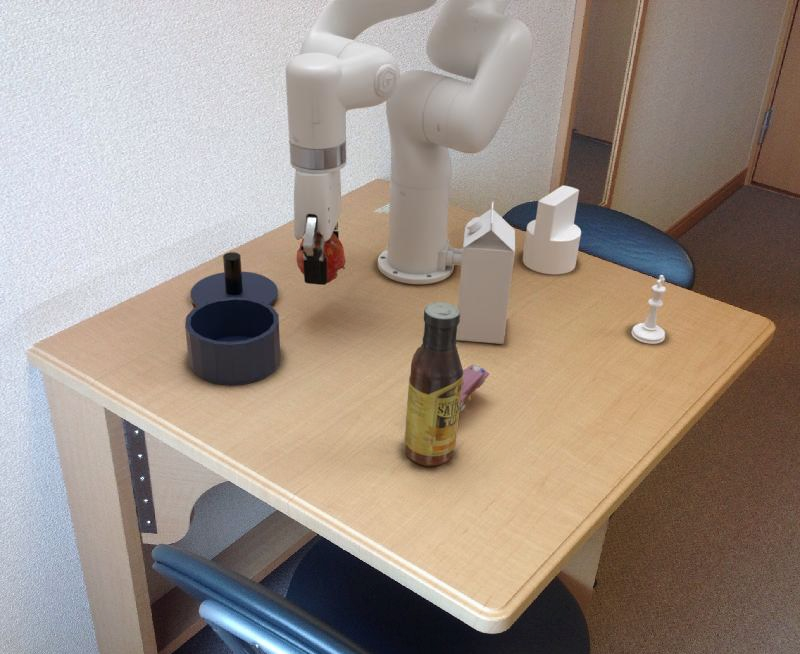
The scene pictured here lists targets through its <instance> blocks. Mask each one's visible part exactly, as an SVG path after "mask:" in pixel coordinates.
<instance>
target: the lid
mask: <svg viewBox="0 0 800 654" xmlns="http://www.w3.org/2000/svg"><path fill="white" fill-rule="evenodd" d="M222 262H223V272H218V273H214V274H211V275H208V276H206V277H204V278H201V279H200V280H198V281H197V282H196V283H195V284H194V285H193V286H192V288H191V290H190V300H191V302H192V303H193V305H194V306H195V307H198V306H199V305H201V304H203V303H205V302H208V301H212V300H215V299H220V298H229V297H242V298H251V299H255V300H259V301H262V302H265V303H266V304H268V305H270V306H272V305H273V304H274V302H275V301H276V300H277V298H278V293H279V292H278V291H279V290H278V286H277V284H276V283H275V282H274V281H273V280H272V279H270V278H268V276H267V277H266V276H265V275H263V274H259V273H256V272H250V271H243V269H242V256H241V254H240V253H239V252H236V251H235V252H234V251H230V252H226V253H224V254H223V256H222Z"/></svg>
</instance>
